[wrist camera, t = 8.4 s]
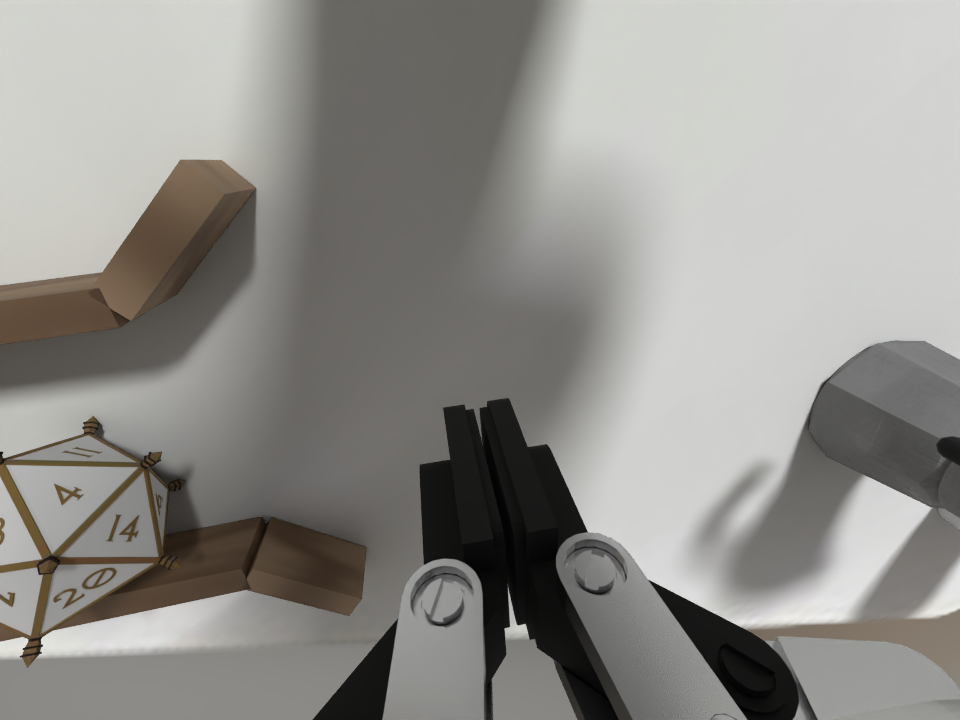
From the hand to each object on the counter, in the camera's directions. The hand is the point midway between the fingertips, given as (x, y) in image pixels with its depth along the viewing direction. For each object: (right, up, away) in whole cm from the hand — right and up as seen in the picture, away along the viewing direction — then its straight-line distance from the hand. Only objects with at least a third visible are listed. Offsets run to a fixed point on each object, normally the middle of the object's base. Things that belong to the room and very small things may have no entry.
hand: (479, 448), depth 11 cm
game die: (-18, -3, +11) cm, 22 cm away
